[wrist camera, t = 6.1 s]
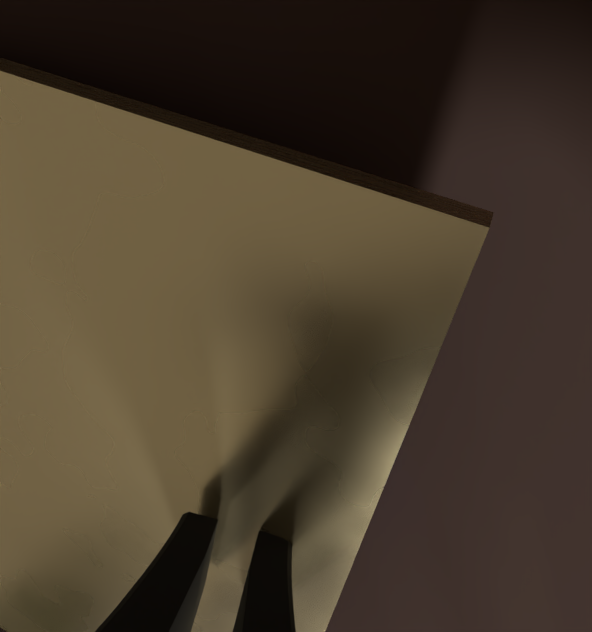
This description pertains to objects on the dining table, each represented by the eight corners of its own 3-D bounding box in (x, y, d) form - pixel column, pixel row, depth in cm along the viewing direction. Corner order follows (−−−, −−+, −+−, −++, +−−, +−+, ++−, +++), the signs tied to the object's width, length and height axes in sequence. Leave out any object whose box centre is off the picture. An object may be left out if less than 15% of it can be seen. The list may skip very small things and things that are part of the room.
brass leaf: (-69, 548, 18) (-137, 604, 17) (-162, 5, 11) (-310, -6, 9) (275, 750, 16) (240, 844, 14) (494, 211, 8) (480, 260, 6)
